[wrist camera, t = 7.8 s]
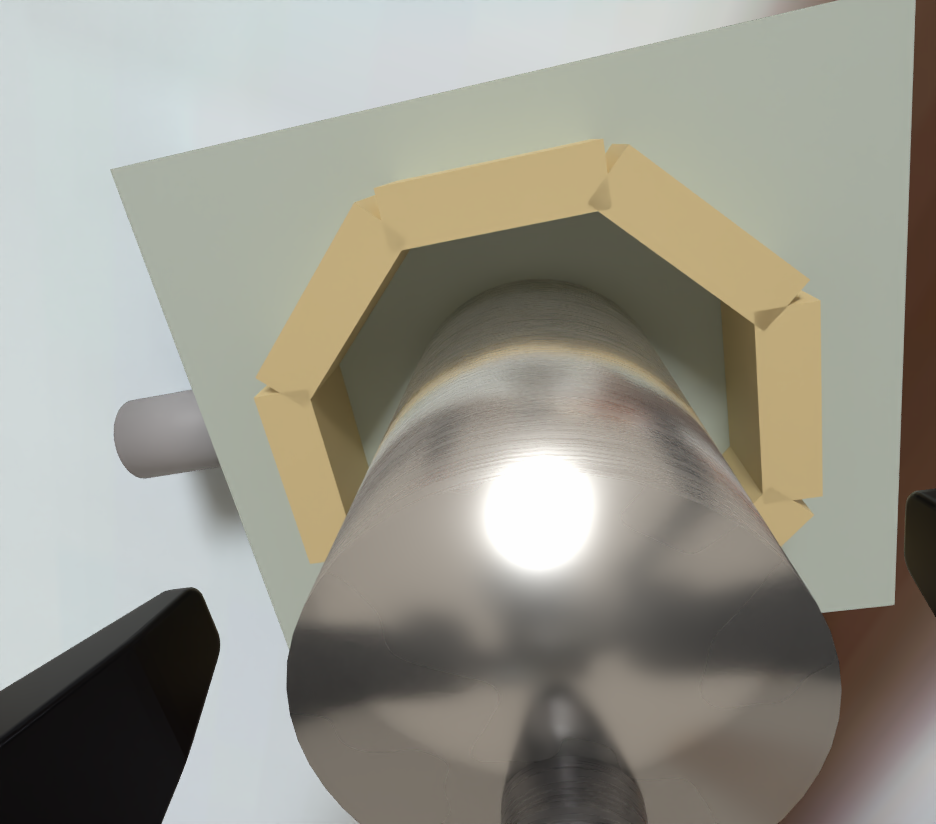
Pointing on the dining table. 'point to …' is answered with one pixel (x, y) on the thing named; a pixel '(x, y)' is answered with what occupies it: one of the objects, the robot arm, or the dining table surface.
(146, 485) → the dining table surface
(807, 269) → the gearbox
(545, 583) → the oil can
